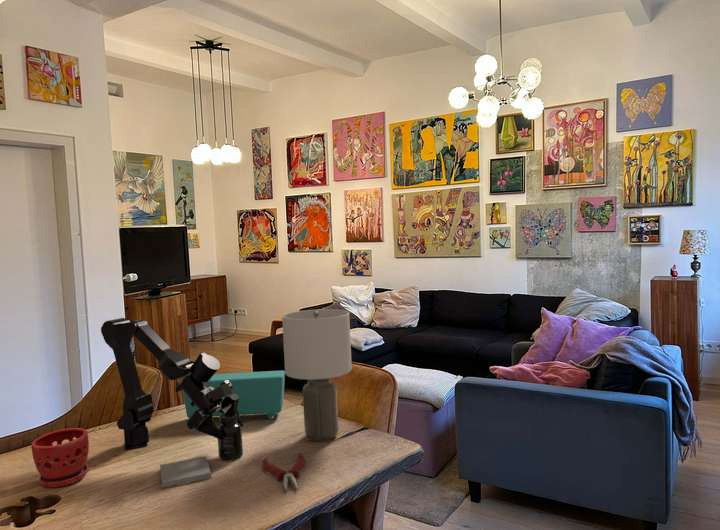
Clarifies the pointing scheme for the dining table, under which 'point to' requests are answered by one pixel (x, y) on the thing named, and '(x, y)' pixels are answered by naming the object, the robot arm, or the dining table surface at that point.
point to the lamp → (318, 364)
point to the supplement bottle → (230, 438)
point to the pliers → (282, 473)
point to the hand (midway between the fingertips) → (233, 433)
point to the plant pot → (61, 456)
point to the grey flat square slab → (185, 471)
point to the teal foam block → (249, 392)
